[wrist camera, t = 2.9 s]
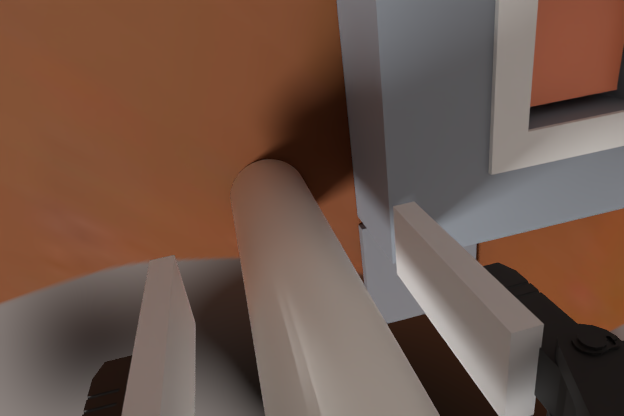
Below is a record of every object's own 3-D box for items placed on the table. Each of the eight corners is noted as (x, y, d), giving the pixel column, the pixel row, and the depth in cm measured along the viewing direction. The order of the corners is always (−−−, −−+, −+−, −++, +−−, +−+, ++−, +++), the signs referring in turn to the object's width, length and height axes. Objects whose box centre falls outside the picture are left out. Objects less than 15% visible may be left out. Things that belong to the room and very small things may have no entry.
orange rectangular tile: (502, 102, 19) (520, 108, 18) (508, -11, 17) (529, -11, 16) (593, 84, 19) (616, 89, 18) (608, -27, 18) (635, -29, 17)
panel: (357, 215, 22) (394, 266, 18) (322, -140, 16) (366, -189, 12) (646, 151, 24) (738, 183, 20) (712, -182, 18) (863, -235, 14)
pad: (368, 321, 25) (371, 327, 25) (358, 224, 22) (361, 229, 22) (470, 295, 26) (474, 300, 25) (472, 199, 23) (477, 203, 23)
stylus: (237, 237, 21) (358, 960, 5) (221, 166, 20) (321, 884, 4) (311, 221, 22) (624, 837, 6) (301, 151, 20) (686, 727, 4)
